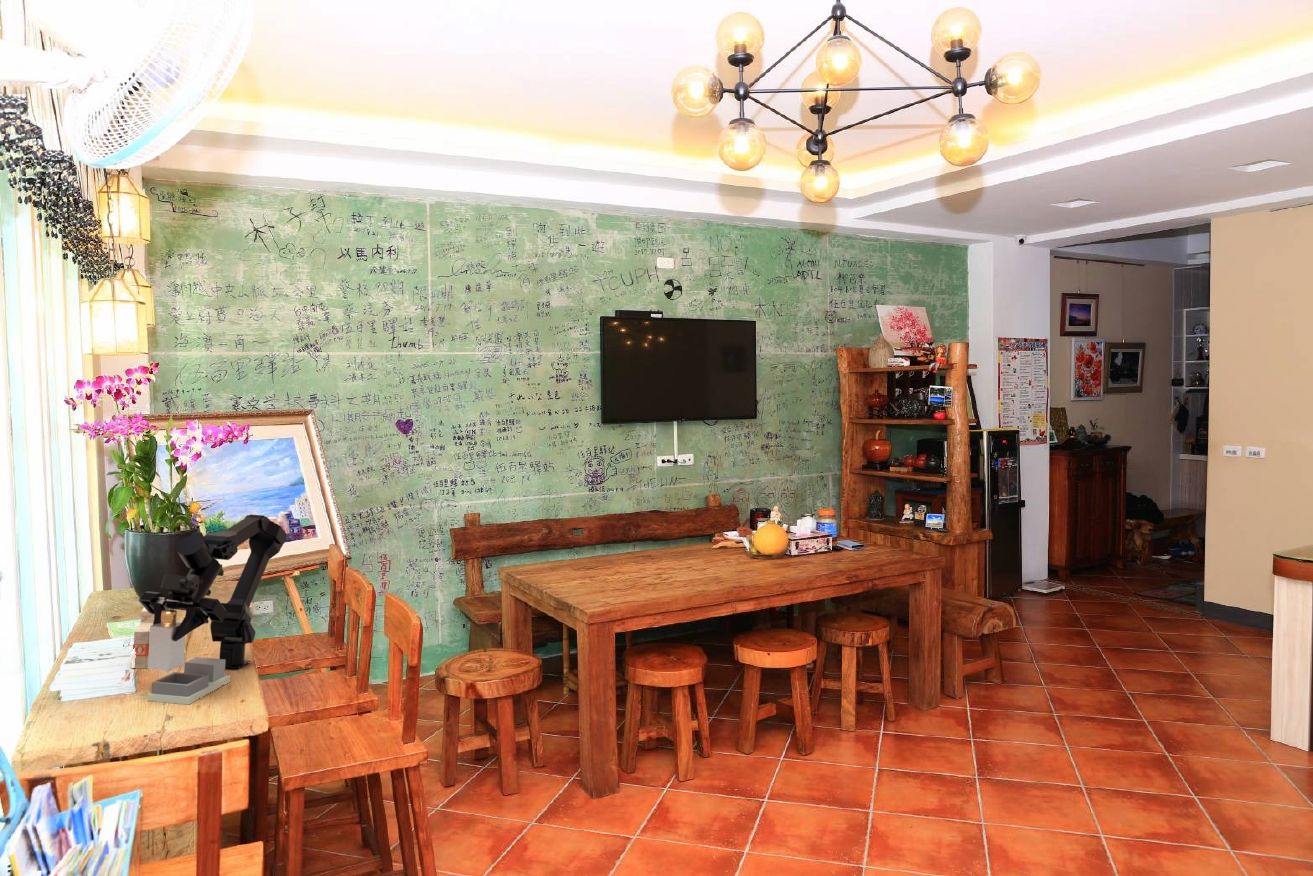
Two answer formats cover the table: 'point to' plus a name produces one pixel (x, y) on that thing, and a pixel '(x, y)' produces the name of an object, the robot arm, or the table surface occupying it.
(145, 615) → the stack of blocks
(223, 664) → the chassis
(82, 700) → the table surface
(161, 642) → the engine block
